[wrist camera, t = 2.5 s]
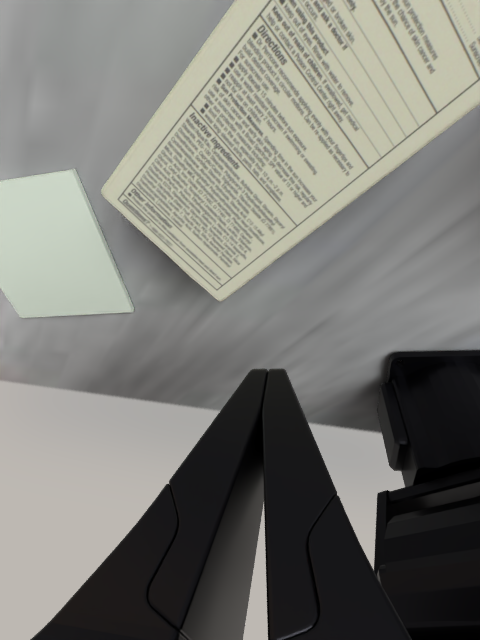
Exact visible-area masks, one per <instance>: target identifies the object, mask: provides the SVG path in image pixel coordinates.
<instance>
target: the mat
mask: <svg viewBox="0 0 480 640" xmlns="http://www.w3.org/2000/svg"><path fill="white" fill-rule="evenodd" d="M0 288H1V290H2V291H3V293H4V294H5V296H6V297H7V299H8V300H9V301H10V303H11V304H12V306H13V307H14V309H15V310H16V312H17V313H18V315H19V316H20V318H30V317H49V316H69V315H88V314H108V313H127V312H133V311H134V310H135V309H134V307H133V304H132V302H131V299H130V297H129V295H128V292H127V290H126V288H125V285H124V283H123V280H122V278H121V276H120V273H119V271H118V269H117V266H116V264H115V262H114V259H113V257H112V254H111V252H110V250H109V247H108V245H107V243H106V240H105V238H104V235H103V233H102V231H101V228H100V226H99V224H98V221H97V219H96V217H95V214H94V212H93V209H92V207H91V205H90V202H89V200H88V198H87V195H86V193H85V190H84V188H83V186H82V183H81V181H80V179H79V176H78V174H77V172H76V169H72V170H66V171H59V172H53V173H47V174H40V175H34V176H27V177H21V178H15V179H8V180H2V181H0Z"/></svg>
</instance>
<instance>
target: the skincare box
mask: <svg viewBox="0 0 480 640" xmlns="http://www.w3.org/2000/svg"><path fill="white" fill-rule="evenodd" d="M479 104H480V0H235V1H234V2H233V4H232V5H231V7H230V8H229V9H228V11H227V12H226V14H225V15H224V16H223V18H222V19H221V21H220V22H219V23H218V25H217V26H216V28H215V29H214V30H213V32H212V33H211V35H210V36H209V37H208V39H207V40H206V42H205V43H204V45H203V46H202V47H201V49H200V50H199V52H198V53H197V55H196V56H195V57H194V59H193V60H192V62H191V63H190V65H189V66H188V67H187V69H186V70H185V72H184V73H183V75H182V76H181V77H180V79H179V80H178V82H177V83H176V84H175V86H174V87H173V89H172V90H171V92H170V93H169V94H168V96H167V97H166V99H165V100H164V101H163V103H162V104H161V106H160V107H159V108H158V110H157V111H156V113H155V114H154V115H153V117H152V118H151V119H150V121H149V122H148V124H147V125H146V127H145V128H144V130H143V131H142V132H141V134H140V135H139V137H138V138H137V139H136V141H135V142H134V144H133V145H132V146H131V148H130V149H129V151H128V152H127V153H126V155H125V156H124V158H123V159H122V161H121V162H120V164H119V165H118V166H117V168H116V169H115V171H114V172H113V174H112V175H111V176H110V178H109V179H108V181H107V182H106V183H105V185H104V186H103V188H102V190H101V193H102V196H103V197H104V198H105V199H106V200H107V201H109V202H110V203H111V204H112V205H113V206H114V207H115V208H116V209H117V210H118V211H119V212H120V213H122V214H123V215H124V216H125V217H126V218H127V219H128V220H129V221H130V222H131V223H132V224H133V225H134V226H135V227H136V228H137V229H138V230H140V231H141V232H142V233H143V234H144V235H145V236H146V237H147V238H149V239H150V240H151V241H152V242H153V243H154V244H155V245H156V246H157V247H159V248H160V249H161V250H162V251H163V252H164V253H165V254H166V255H167V256H169V257H170V258H171V259H172V260H173V261H174V262H175V263H176V264H177V265H178V266H179V267H180V268H181V269H182V270H183V271H184V272H185V273H187V274H188V275H189V276H190V277H191V278H192V279H193V280H194V281H196V282H197V283H198V284H200V285H201V286H202V287H203V288H204V289H205V290H206V291H208V292H209V293H210V294H211V295H212V296H213V297H214V298H215V299H217V300H218V301H219V302H221V301H223V300H225V299H226V298H227V297H229V296H230V295H232V294H233V293H234V292H235V291H237V290H238V289H239V288H241V287H242V286H243V285H245V284H246V283H247V282H248V281H250V280H251V279H252V278H254V277H255V276H256V275H258V274H259V273H260V272H261V271H263V270H264V269H265V268H267V267H268V266H269V265H271V264H272V263H273V262H274V261H276V260H277V259H278V258H280V257H281V256H282V255H283V254H285V253H286V252H287V251H289V250H290V249H291V248H293V247H294V246H295V245H296V244H298V243H299V242H300V241H302V240H303V239H304V238H306V237H307V236H308V235H309V234H311V233H312V232H313V231H315V230H316V229H317V228H319V227H320V226H321V225H323V224H324V223H325V222H327V221H328V220H329V219H331V218H332V217H333V216H334V215H336V214H337V213H338V212H340V211H341V210H342V209H344V208H345V207H346V206H348V205H349V204H350V203H351V202H353V201H354V200H355V199H356V198H358V197H359V196H360V195H362V194H363V193H364V192H366V191H367V190H368V189H370V188H371V187H372V186H374V185H375V184H376V183H377V182H379V181H380V180H381V179H383V178H384V177H385V176H387V175H388V174H389V173H391V172H392V171H393V170H394V169H396V168H397V167H398V166H400V165H401V164H402V163H403V162H405V161H406V160H407V159H409V158H410V157H411V156H413V155H414V154H415V153H417V152H418V151H419V150H421V149H422V148H423V147H424V146H426V145H427V144H428V143H429V142H431V141H432V140H433V139H435V138H436V137H437V136H438V135H440V134H441V133H442V132H444V131H445V130H446V129H448V128H449V127H450V126H452V125H453V124H454V123H456V122H457V121H458V120H459V119H461V118H462V117H463V116H464V115H466V114H467V113H469V112H470V111H471V110H473V109H474V108H475V107H477V106H478V105H479Z"/></svg>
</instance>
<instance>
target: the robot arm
mask: <svg viewBox="0 0 480 640" xmlns="http://www.w3.org/2000/svg"><path fill="white" fill-rule="evenodd" d="M399 360H402V361H400V362H397V361H399ZM377 412H378V416H379V421H380V425H381V430H382V435H383V439H384V444H385V448H386V453H387V457H388V462H389V466H390V467H391V468H392V469H393V470H394V471H401V472H402V475H403V480H404V484H405V488H401V489H398V490H394V491H388V490H387V491H383V492H380V493H378V496H377V518H376V539H375V562H374V570H373V568H372V566H371V565H370V563H369V561H368V559H367V557H366V555H365V553H364V551H363V549H362V547H361V545H360V543H359V541H358V539H357V537H356V534H355V532H354V530H353V528H352V526H351V523H350V521H349V519H348V517H347V515H346V512H345V510H344V508H343V505H342V503H341V501H340V498H339V496H337V491H336V489H335V487H334V485H333V482H332V479H331V477H330V475H329V472H328V470H327V468H326V465H325V463H324V460H323V458H322V456H321V453H320V451H319V449H318V446H317V444H316V441H315V440H314V437H313V434H312V432H311V430H310V427H309V425H308V422H307V420H306V418H305V415H304V413H303V410H302V408H301V406H300V403H299V401H298V399H297V396H296V394H295V391H294V389H293V387H292V384H291V382H290V380H289V377H288V375H287V372H286V370H285V369H270V370H269V371H268V370H267V369H252V370H251V371H250V372H249V373H248V375H247V376H246V377H245V379H244V380H243V381H242V383H241V384H240V386H239V387H238V388H237V390H236V391H235V392H234V394H233V395H232V396H231V398H230V399H229V400H228V402H227V403H226V405H225V406H224V407H223V409H222V410H221V411H220V413H219V414H218V415H217V417H216V418H215V419H214V421H213V422H212V424H211V425H210V426H209V428H208V429H207V430H206V432H205V433H204V434H203V436H202V437H201V438H200V440H199V441H198V443H197V444H196V445H195V447H194V448H193V449H192V451H191V452H190V453H189V455H188V456H187V457H186V459H185V460H184V461H183V463H182V464H181V466H180V467H179V468H178V470H177V471H176V473H175V474H174V475H173V476H172V478H171V479H170V481H169V484H170V485H169V484H166V486H165V487H164V488H163V490H162V491H161V492H160V494H159V495H158V497H157V498H156V499H155V501H154V502H153V503H152V505H151V506H150V507H149V508H148V510H147V511H146V512H145V513H144V515H143V516H142V518H141V519H140V520H139V521H138V523H137V524H136V525H135V526H134V527H133V528H132V530H131V531H130V532H129V533H128V534H127V535H126V537H125V538H124V539H123V540H122V541H121V542H120V544H119V545H118V546H117V547H116V548H115V549H114V551H113V552H112V553H111V554H110V555H109V556H108V557H107V558H106V559H105V561H104V562H103V563H102V564H101V565H100V566H99V567H98V569H97V570H96V571H95V572H94V573H93V574H92V575H91V576H90V577H89V579H88V580H87V581H86V582H85V583H84V584H83V585H82V586H81V588H80V589H79V590H78V591H77V592H76V593H75V594H74V595H73V597H72V598H71V599H70V600H69V601H68V602H67V603H66V605H65V606H64V607H63V608H62V609H61V610H60V611H59V612H58V613H57V614H56V616H55V617H54V618H53V619H52V620H51V621H50V622H49V623H48V624H47V625H46V626H45V627H44V628H43V629H42V630H41V631H40V632H39V633H37V634H36V635H35V636H34V637H33V638H32V639H31V640H243V634H244V627H245V620H246V614H247V608H248V601H249V594H250V587H251V581H252V575H253V568H254V561H255V555H256V548H257V541H258V535H259V528H260V522H261V515H262V509H263V502H264V509H265V510H264V511H265V542H266V543H265V544H266V578H267V579H266V580H267V614H268V640H480V351H433V352H397V353H394V354H392V355H391V356H390V359H389V365H388V372H387V380H386V382H383V383H382V384H381V385H380V392H379V400H378V408H377Z"/></svg>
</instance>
